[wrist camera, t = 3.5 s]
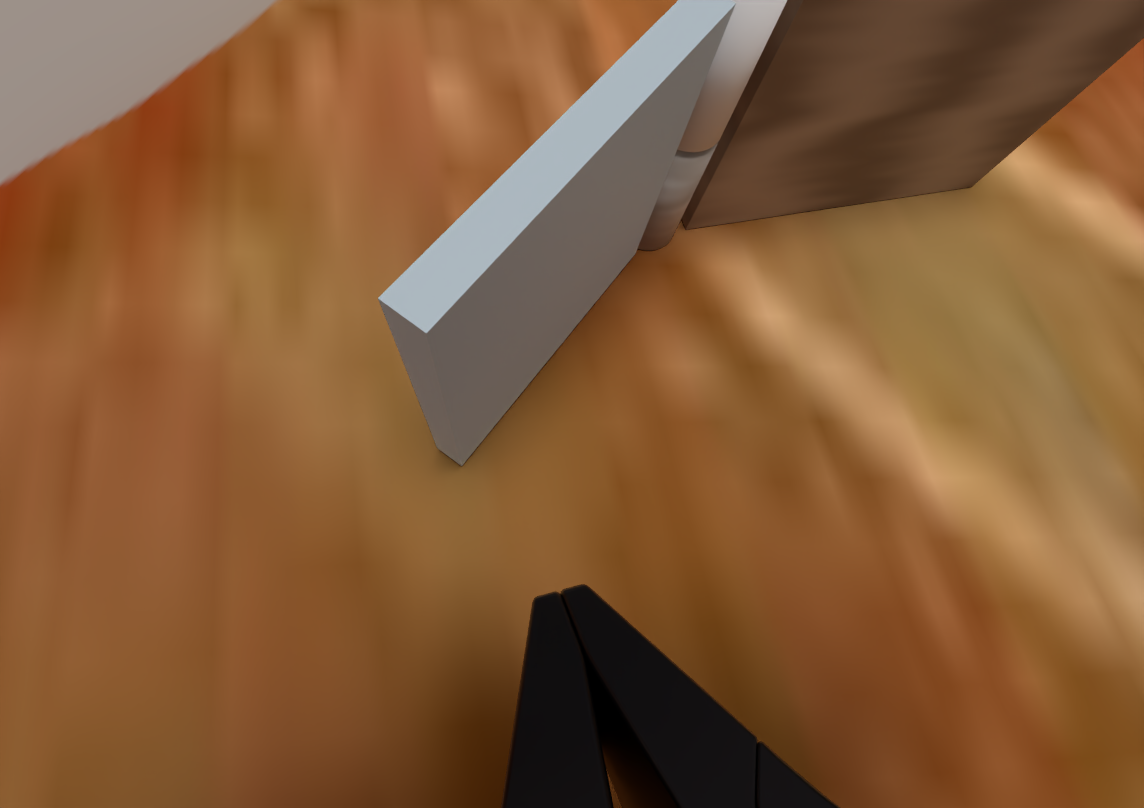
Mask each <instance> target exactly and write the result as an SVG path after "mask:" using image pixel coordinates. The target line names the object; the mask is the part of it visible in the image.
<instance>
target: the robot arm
mask: <svg viewBox="0 0 1144 808" xmlns="http://www.w3.org/2000/svg"><path fill="white" fill-rule="evenodd" d="M606 769H607V771H608V774H609V776H610V779H611V781H612V784H613V786H614V789H615V791H616V794H617V796H618V799H619V801H620V804H621V806H622V808H840V807H839V806H837V805H836V804H835V803H834V802H832V801H831V800H830V799H828V798H827V797H826V796H824V795H823V794H822V793H821V792H820V791H818V790H817V789H816V788H815V787H814V786H813V785H811V784H810V783H809V782H808V781H807V780H805V779H804V778H803V777H802V776H801V775H800V774H798V773H797V772H796V771H795V770H794V769H793V768H791V767H790V766H789V765H788V764H787V763H786V762H784V761H783V760H782V759H781V758H780V757H779V756H778V755H777V754H776V753H774V752H773V751H772V750H771V749H770V748H769V747H768V746H767V745H766V744H764V743H763V742H761V741H760V742H758V744H757V737H756V736H755V735H754V734H753V733H752V732H751V731H750V730H748V729H747V728H746V727H745V726H744V725H743V724H742V723H741V722H739V721H738V720H737V719H736V718H735V717H734V716H733V715H732V714H731V713H729V712H728V711H727V710H726V709H725V708H724V707H723V706H722V705H720V704H719V703H718V702H717V701H716V700H715V699H714V698H713V697H712V696H710V695H709V694H708V693H707V692H706V691H705V690H704V689H703V688H701V687H700V686H699V685H698V684H697V683H696V682H695V681H694V680H693V679H691V678H690V677H689V676H688V675H687V674H686V673H685V672H684V671H682V670H681V669H680V668H679V667H678V666H677V665H676V664H675V663H674V662H672V661H671V660H670V659H669V658H668V657H667V656H666V655H665V654H664V653H662V652H661V651H660V650H659V649H658V648H657V647H656V646H655V645H653V644H652V643H651V642H650V641H649V640H648V639H647V638H646V637H645V636H643V635H642V634H641V633H640V632H639V631H638V630H637V629H636V628H634V627H633V626H632V625H631V624H630V623H629V622H628V621H627V620H626V619H624V618H623V617H622V616H621V615H620V614H619V613H618V612H617V611H615V610H614V609H613V608H612V607H611V606H610V605H609V604H608V603H607V602H605V601H604V600H603V599H602V598H601V597H600V596H599V595H598V594H596V593H595V592H594V591H593V590H592V589H591V588H590V587H588V586H587V585H584V584H581V585H577V586H574V587H570V588H566V589H563V590H562V591H561V593H560V594H559V593H558V592H552V593H548V594H544V595H541V596H537V597H535V598H534V600H533V603H532V609H531V615H530V622H529V628H528V635H527V641H526V648H525V654H524V661H523V667H522V674H521V680H520V687H519V693H518V700H517V706H516V713H515V720H514V726H513V733H512V739H511V746H510V752H509V759H508V765H507V772H506V778H505V785H504V791H503V798H502V804H501V808H614V807H613V802H612V797H611V792H610V786H609V781H608V776H607V771H606Z"/></svg>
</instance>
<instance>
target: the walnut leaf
mask: <svg viewBox="0 0 1144 808" xmlns="http://www.w3.org/2000/svg"><path fill="white" fill-rule="evenodd" d="M1143 38H1144V0H787V2H786V4H785V6H784V8H783V10H782V12H781V15H780V17H779V19H778V21H777V23H776V25H775V27H774V29H773V31H772V33H771V35H770V37H769V39H768V41H767V43H766V45H765V47H764V49H763V52H762V54H761V56H760V58H759V60H758V62H757V64H756V66H755V68H754V70H753V72H752V74H751V76H750V78H749V80H748V82H747V84H746V87H745V89H744V91H743V93H742V95H741V97H740V99H739V101H738V103H737V105H736V107H735V109H734V111H733V113H732V115H731V117H730V119H729V121H728V124H727V126H726V128H725V130H724V132H723V134H722V136H721V138H720V140H719V141H718V142H717V143H716V144H715V145H714V146H713V147H711V148H709V149H707V150H704V151H700V152H685V151H681V150H678V149H677V151H676V154H675V156H674V159H673V161H672V164H671V166H670V169H669V171H668V174H667V176H666V179H665V181H664V184H663V186H662V189H661V191H660V194H659V196H658V199H657V201H656V204H655V206H654V209H653V211H652V214H651V216H650V218H649V221H648V223H647V226H646V228H645V231H644V233H643V236H642V238H641V241H640V243H639V246H638V248H637V249H640V250H648V251H650V250H657V249H660V248H662V247H664V246H665V245H667V244H668V243H669V242H670V240H671V239H672V237H673V235H674V233H675V230H676V228H677V226H678V224H679V222H680V220H681V218H682V221H683V224H684V227H685V229H686V230H687V229H694V228H700V227H707V226H714V225H720V224H727V223H734V222H740V221H747V220H754V219H760V218H767V217H774V216H781V215H787V214H794V213H801V212H807V211H814V210H821V209H827V208H834V207H841V206H847V205H854V204H861V203H868V202H874V201H881V200H888V199H894V198H901V197H908V196H914V195H921V194H928V193H934V192H941V191H948V190H954V189H961V188H968V187H972V186H973V185H974V184H975V183H977V182H978V181H979V180H980V179H981V178H982V177H984V176H985V175H986V174H987V173H988V172H989V171H990V170H992V169H993V168H994V167H995V166H996V165H997V164H999V163H1000V162H1001V161H1002V160H1003V159H1004V158H1005V157H1007V156H1008V155H1009V154H1010V153H1011V152H1012V151H1014V150H1015V149H1016V148H1017V147H1018V146H1019V145H1021V144H1022V143H1023V142H1024V141H1025V140H1026V139H1027V138H1029V137H1030V136H1031V135H1032V134H1033V133H1034V132H1036V131H1037V130H1038V129H1039V128H1040V127H1041V126H1042V125H1044V124H1045V123H1046V122H1047V121H1048V120H1049V119H1051V118H1052V117H1053V116H1054V115H1055V114H1056V113H1057V112H1059V111H1060V110H1061V109H1062V108H1063V107H1064V106H1066V105H1067V104H1068V103H1069V102H1070V101H1071V100H1072V99H1074V98H1075V97H1076V96H1077V95H1078V94H1079V93H1081V92H1082V91H1083V90H1084V89H1085V88H1086V87H1087V86H1089V85H1090V84H1091V83H1092V82H1093V81H1094V80H1096V79H1097V78H1098V77H1099V76H1100V75H1101V74H1102V73H1104V72H1105V71H1106V70H1107V69H1108V68H1109V67H1111V66H1112V65H1113V64H1114V63H1115V62H1116V61H1118V60H1119V59H1120V58H1121V57H1122V56H1123V55H1124V54H1126V53H1127V52H1128V51H1129V50H1130V49H1131V48H1133V47H1134V46H1135V45H1136V44H1137V43H1138V42H1139V41H1141V40H1142V39H1143Z"/></svg>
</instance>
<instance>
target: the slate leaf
mask: <svg viewBox="0 0 1144 808" xmlns="http://www.w3.org/2000/svg"><path fill="white" fill-rule="evenodd" d="M786 2H787V0H678V1H677V2H676V3H675V4H674V5H673V6H672V7H671V8H670V9H669V10H668V11H667V12H666V13H665V14H664V15H663V16H662V17H661V18H660V19H659V20H658V21H657V22H656V23H655V24H654V25H653V26H652V27H651V28H650V29H649V30H648V31H647V32H646V33H645V34H644V35H643V36H642V37H641V38H640V39H639V40H638V41H637V42H636V43H635V44H634V45H633V46H632V47H631V48H630V49H629V50H628V51H627V52H626V53H625V54H624V55H623V56H622V57H621V58H620V59H619V60H618V61H617V62H616V63H615V64H614V65H613V66H612V67H611V68H610V69H609V70H608V71H607V72H606V73H605V74H604V75H603V76H602V77H601V78H600V79H599V80H598V81H597V82H596V83H595V84H594V85H593V86H592V87H591V88H590V89H589V90H588V91H587V92H586V93H585V94H584V95H583V96H582V97H581V98H580V99H579V100H578V101H577V102H576V103H574V104H573V105H572V106H571V107H570V108H569V109H568V110H567V111H566V112H565V113H564V114H563V115H562V116H561V117H560V118H559V119H558V120H557V121H556V122H555V123H554V124H553V125H552V126H551V127H550V128H549V129H548V130H547V131H546V132H545V133H544V134H543V135H542V136H541V137H540V138H539V139H538V140H537V141H536V142H535V143H534V144H533V145H532V146H531V147H530V148H529V149H528V150H527V151H526V152H525V153H524V154H523V155H522V156H521V157H520V158H519V159H518V160H517V161H516V162H515V163H514V164H513V165H512V166H511V167H510V168H509V169H508V170H507V171H506V172H505V173H504V174H503V175H502V176H501V177H500V178H499V179H498V180H497V181H496V182H495V183H494V184H493V185H492V186H491V187H490V188H489V189H488V190H487V191H486V192H485V193H484V194H483V195H482V196H481V197H480V198H479V199H478V200H477V201H476V202H475V203H474V204H473V205H472V206H471V207H470V208H469V209H468V210H467V211H466V212H465V213H464V214H463V215H462V216H461V217H459V218H458V219H457V220H456V221H455V222H454V223H453V224H452V225H451V226H450V227H449V228H448V229H447V230H446V231H445V232H444V233H443V234H442V235H441V236H440V237H439V238H438V239H437V240H436V241H435V242H434V243H433V244H432V245H431V246H430V247H429V248H428V249H427V250H426V251H425V252H424V253H423V254H422V255H421V256H420V257H419V258H418V259H417V260H416V261H415V262H414V263H413V264H412V265H411V266H410V267H409V268H408V269H407V270H406V271H405V272H404V273H403V274H402V275H401V276H400V277H399V278H398V279H397V280H396V281H395V282H394V283H393V284H392V285H391V286H390V287H389V288H388V289H387V290H386V291H385V292H384V293H383V294H382V295H381V296H380V297H379V298H378V300H379V302H380V305H381V307H382V310H383V312H384V315H385V317H386V320H387V322H388V325H389V327H390V330H391V332H392V335H393V337H394V340H395V343H396V345H397V348H398V350H399V353H400V355H401V358H402V360H403V363H404V365H405V368H406V370H407V373H408V375H409V378H410V380H411V383H412V385H413V388H414V390H415V393H416V396H417V398H418V401H419V403H420V406H421V408H422V411H423V413H424V416H425V418H426V421H427V423H428V426H429V428H430V431H431V433H432V436H433V438H434V441H435V444H436V446H437V448H438V449H439V450H441V451H442V452H443V453H445V454H446V455H447V456H449V457H450V458H451V459H453V460H454V461H455V462H457V463H458V464H459V465H461V466H462V465H463V464H464V463H465V462H466V460H467V459H468V458H469V457H470V455H471V454H472V453H473V452H474V451H475V449H476V448H477V447H478V446H479V444H480V443H481V442H482V441H483V440H484V438H485V437H486V436H487V435H488V433H489V432H490V431H491V430H492V428H493V427H494V426H495V425H496V424H497V422H498V421H499V420H500V419H501V417H502V416H503V415H504V414H505V413H506V411H507V410H508V409H509V408H510V406H511V405H512V404H513V403H514V402H515V400H516V399H517V398H518V397H519V395H520V394H521V393H522V392H523V391H524V389H525V388H526V387H527V386H528V384H529V383H530V382H531V381H532V380H533V378H534V377H535V376H536V375H537V373H538V372H539V371H540V370H541V369H542V367H543V366H544V365H545V364H546V362H547V361H548V360H549V359H550V358H551V356H552V355H553V354H554V353H555V351H556V350H557V349H558V348H559V347H560V345H561V344H562V343H563V342H564V340H565V339H566V338H567V337H568V335H569V334H570V333H571V332H572V331H573V329H574V328H575V327H576V326H577V324H578V323H579V322H580V321H581V320H582V318H583V317H584V316H585V315H586V313H587V312H588V311H589V310H590V309H591V307H592V306H593V305H594V304H595V302H596V301H597V300H598V299H599V298H600V296H601V295H602V294H603V293H604V291H605V290H606V289H607V288H608V287H609V285H610V284H611V283H612V282H613V280H614V279H615V278H616V277H617V276H618V274H619V273H620V272H621V271H622V269H623V268H624V267H625V266H626V265H627V263H628V262H629V261H630V260H631V258H632V257H633V256H634V255H635V253H636V251H637V248H638V246H639V243H640V241H641V238H642V236H643V233H644V231H645V228H646V226H647V223H648V221H649V218H650V216H651V214H652V211H653V209H654V206H655V204H656V201H657V199H658V196H659V194H660V191H661V189H662V186H663V184H664V181H665V179H666V176H667V174H668V171H669V169H670V166H671V164H672V161H673V159H674V156H675V154H676V151H677V149H678V150H681V151H685V152H700V151H704V150H707V149H709V148H711V147H713V146H714V145H715V144H716V143H717V142H718V141H719V140H720V138H721V136H722V134H723V132H724V130H725V128H726V126H727V124H728V121H729V119H730V117H731V115H732V113H733V111H734V109H735V107H736V105H737V103H738V101H739V99H740V97H741V95H742V93H743V91H744V89H745V87H746V84H747V82H748V80H749V78H750V76H751V74H752V72H753V70H754V68H755V66H756V64H757V62H758V60H759V58H760V56H761V54H762V52H763V49H764V47H765V45H766V43H767V41H768V39H769V37H770V35H771V33H772V31H773V29H774V27H775V25H776V23H777V21H778V19H779V17H780V15H781V12H782V10H783V8H784V6H785V4H786Z"/></svg>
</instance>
